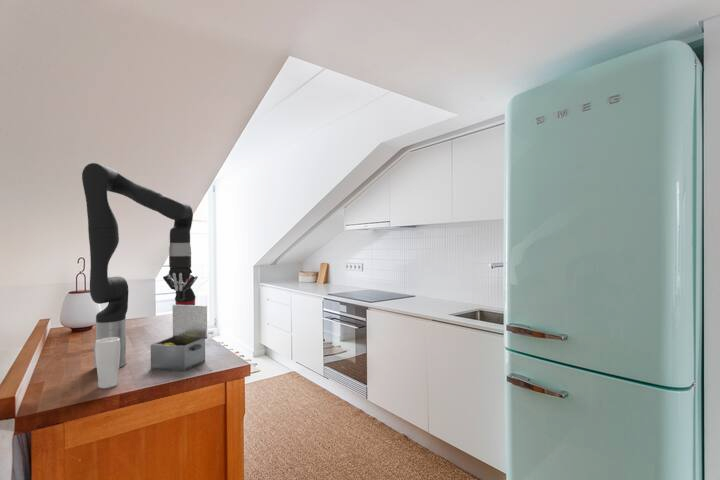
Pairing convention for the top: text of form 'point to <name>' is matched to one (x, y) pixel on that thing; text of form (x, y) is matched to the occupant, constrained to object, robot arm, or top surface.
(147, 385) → the top surface
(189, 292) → the cola bottle
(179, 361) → the storage box
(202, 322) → the lid
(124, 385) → the top surface
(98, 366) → the drinking glass
